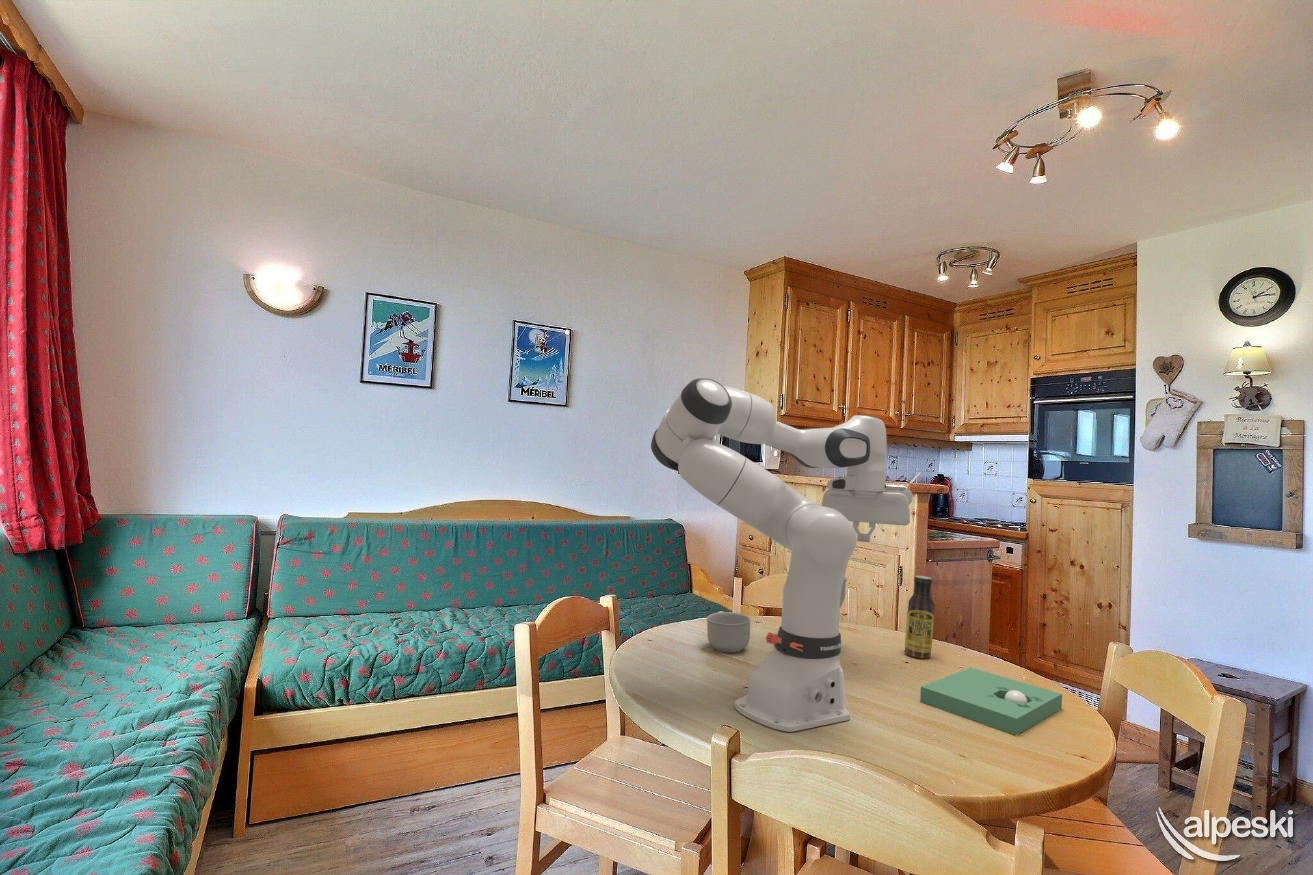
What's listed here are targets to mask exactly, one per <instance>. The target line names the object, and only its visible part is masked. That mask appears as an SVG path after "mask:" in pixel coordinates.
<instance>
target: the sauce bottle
mask: <svg viewBox="0 0 1313 875" xmlns="http://www.w3.org/2000/svg"><path fill="white" fill-rule="evenodd" d="M913 581H914V589H913V594H912V595H911V597H910V598H909V600H908V606H907V612H906V624H905V626H906V627H905V639H904V647H905V648H904V652H905V654H906V655H907V656H909V657H911V658H915V659H924V660H926V659H927V660H928V659H929V658H930V657H931V654H932V650H933V649H932V647H933V637H934V636H933V635H934V624H935V623H934V621H935V616H934V615H935V603H934V600H933V599H932V596H931V594H932V593H931V590H932V589H931V588H932V584H933V582H932V581H933V578H932V577H929V576H925V575H915V576H914V580H913Z"/></svg>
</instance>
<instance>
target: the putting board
mask: <svg viewBox="0 0 1313 875" xmlns="http://www.w3.org/2000/svg"><path fill="white" fill-rule="evenodd" d="M1011 690H1016V691H1019V692H1021V693H1023V694H1024V695H1025V697H1026V698H1027V701H1028V703H1027V704H1022V703H1014V702H1011V701H1007V700H1004V697H1005V694H1006V693H1007V692H1009V691H1011ZM919 697H920V699H919V700H920V701H919V702H920V703H923V704H926V705H929V706H932V707H934V708H938V709H940V710H942V711H945V712H949V713H952V714H954V715H957V716H960V717H962V716H963V718H966V719H968V720H971V721H973V722H977V723H980V724H982V725H985V726H988V727H990V728H993V727H994V729H996V728H997V730H999V729H1000V731H1002V732H1005V733H1007V732H1009V733H1008V734H1010V733H1011V735H1013V734H1015V735H1014V736H1016V735H1017V734H1018V735H1020V734H1022V733H1023V732H1025V731H1026V729H1027V730H1028V728H1029V727H1030V728H1032V727H1034V726H1036V725H1037V724H1039V723H1041V722H1043V720H1045V719H1047V718H1048V716H1049V717H1051V716H1052V715H1054V714H1055V712H1056V713H1057V712H1059V711H1061V710H1062V708H1063V705H1062V704H1063V694H1062V693H1060V692H1057V691H1053V690H1049V689H1045V688H1044V687H1043V688H1042V687H1039V686H1035V685H1032V684H1028V683H1025V682H1023V681H1020V680H1015V679H1011V678H1008V677H1004V676H1000V675H998V674H995V673H990V672H988V671H984V670H982V669H981V670H980V669H977V668H973V667H969V668H966V669H963V670H961V671H959V672H955V673H953V674H951V675H947V676H945V677H943V678H940V679H937V680H935V681H932V682H929V683H927V684H923V685H921V686H920V696H919ZM1033 725H1034V726H1033ZM1030 728H1029V729H1030ZM1021 732H1022V733H1021ZM1018 735H1017V736H1018Z"/></svg>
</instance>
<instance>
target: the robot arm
mask: <svg viewBox="0 0 1313 875" xmlns="http://www.w3.org/2000/svg"><path fill="white" fill-rule="evenodd" d="M717 434H718V435H720V436H722V437H725V438H727V439H731V440H733V441H737V442H741V443H746V444H753V445H761V444H762V445H766V446H768V447H771V448H773V449H777V450H779V451H782V452H785V453H787V454H789V455H790V456H791V457H792V458H794V459H795V460H796V462H798V463H799V465H801V466H803V467H805V468H808V469H818V468H819V469H820V468H821V469H823V468H824V469H845V468H846V475H845V476H839V477H837V478H832V479H829V480H828V481H827V482H826V486H827V489H828V490H826V491H825V492H824V494H823V496H822V500H821V504H819V503H816V502H814V501H812V500H811V499H809V498H808V497H806V496H804V495H803V494H801V493H800V492H798V491H797V490H796V489H794V488H793V487H792V486H790V485H789V484H788V483H786V482H785V481H783V480H782V478H780V477H778V476H776V475H775V474H773V473H772V472H770V471H768V470H767V469H766V468H764V467H762V466H761V465H759V464H757V463H756V462H754V461H752V460H751V459H749V458H747V457H746V456H744V455H742V454H741V453H739V452H737V451H736V450H734V449H733V448H730V447H728V446H726V445H724V444H721V443H719V441H717V439H716V436H717ZM887 446H888V444H887V430H886V425H885V423H884V421H883V420H882V419H881V418H880V417H877V416H873V415H868V414H867V415H866V414H855V415H853V416H852V417H851V418H849V419H848V420H847V421H845V422H843V423H841V424H839V425H835V426H834V427H819V428H816V427H808V428H807V427H806V428H801V429H799V428H795V427H793V426H791V425H788V424H785V423H782V422H780V421H778V420H777V414H776V409H775V408H774V405H773V404H772V403H771V402H769V401H767V400H766V399H765V398H763V397H761V396H759V395H756V394H755V393H751V392H748V391H746V390H742V389H739V388H735V387H732V386H727V385H723V384H721V383H719V382H718V381H716V380H714V379H712V378H706V377H705V378H703V377H699V378H696V379H692V380H691V381H690V382H688V383H687V384H686V385H685V386H684V387H683V388H682V389H681V392H680V394H679V396H678V397H677V398H676V399H675V401H673V403H672V405H671V406H670V407H669V408H668V409H667V410H666V411H665V413H664V415H663V417H662V418H661V421H660V423H659V425H658V427H657V428H656V429H655V431H654V433H653V434H652V438H651V442H650V449H651V452H652V454H653V456H654V457H655V458H656V460H657V461H658V462H659V463H660V464H662V465H663V466H664V467H666V468H668V469H670V470H672V471H676V472H678V473H679V475H680V477H681V478H682V479H683V480H684V481H685V482H686V483H687V484H688V485H689V486H690V487H691V488H692V489H694V490H695V491H697V493H699V494H700V495H701V496H703V497H705V499H707V500H708V501H710V502H712V503H713V504H715V505H716V506H718V507H720V508H721V509H723V510H724V511H726V512H727V513H728V514H731V515H732V516H734V517H735V518H738V519H739V520H741V521H742V522H744V523H745V524H747V525H749V526H750V527H752V528H753V529H755V530H756V531H758V532H760V533H761V534H763V535H764V536H766V537H767V538H770V539H771V540H772V541H774V542H776V543H777V544H779V545H781V546H782V547H784V548H786V549H787V551H788V550H789V551H790V552H791V554H790V561H789V567H788V571H787V577H786V580H785V583H784V585H783V589H782V601H781V624H780V626H779V628H778V631H777V634H775V633H773V632H771V631H769V632H767V634H766V635H765V641H766V643H768V644H772V645H773V646H774V648H773V650H772V651H771V652H770V653H769V654H768V655H767V657H766V658H765V659H764V660H763V661H762V662H761V664H759V666H758V667H757V668H756V669H755V670H754V671H753V672H752V673H751V674H750V676H749V680H748V686H747V694H745V695H743V696H741V697H739V698H737V699H736V700H734V702H733V707H734V708H735V710H736V711H738V712H739V713H740V714H742V716H745V717H747V718H748V719H750V720H752V721H754V722H756V723H758V724H761V725H763V726H765V727H768V728H771V729H775V730H778V731H783V732H789V733H790V732H791V733H792V732H797V731H798V732H799V731H802V730H807V729H812V728H816V727H822V726H826V725H831V724H837V723H840V722H845V721H849V720H851V714H850V711H849V709H847V708H846V691H845V689H846V688H845V675H844V674H845V672H844V670H843V668H842V664H841V661H840V656H839V655H840V654H841V652H842V651H841V650H842V635H841V633H840V617H841V616H840V614H841V613H840V612H841V608H840V597H841V590H842V585H843V580H844V577H846V576H845V575H846V571H847V569H848V563H849V559H850V558H851V556H852V555H853V554H854V551H855V550H856V546H857V542H861V543H863V542H864V543H870V542H871V535H872V533H873V532H874V531H875V529H876V524H879V525H880V524H881V525H891V526H892V525H894V526H908V525H909V524H910V523H911V512H910V510H911V509H910V505H911V504H912V502H913V492H912V490H911V489H910V488H908V487H907V486H906V485H895V484H886V474H887V473H886V466H885V459H886V456H887ZM851 522H852V523H851ZM860 523H868V528H870V530H869V531H868V532H867V533H861V532H860V530H859V527H860Z"/></svg>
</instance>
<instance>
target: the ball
mask: <svg viewBox="0 0 1313 875" xmlns="http://www.w3.org/2000/svg"><path fill="white" fill-rule="evenodd" d="M1004 700H1007V701H1011V702H1014V703H1022V704H1027V703H1028V701H1027V698H1026V697H1025V695H1024V694H1023V693H1021V692H1019V691H1016V690H1011V691H1009V692H1007V693H1006V694H1005V697H1004Z"/></svg>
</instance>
